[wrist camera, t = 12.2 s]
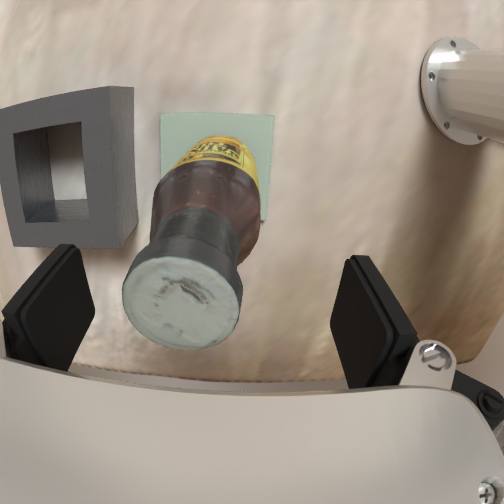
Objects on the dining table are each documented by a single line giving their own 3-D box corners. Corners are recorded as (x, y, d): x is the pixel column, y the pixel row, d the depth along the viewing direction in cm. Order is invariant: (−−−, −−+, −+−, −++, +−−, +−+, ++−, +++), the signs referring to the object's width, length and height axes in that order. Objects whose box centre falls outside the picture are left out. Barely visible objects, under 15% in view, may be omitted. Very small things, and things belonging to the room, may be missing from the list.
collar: (133, 87, 23) (110, 86, 18) (138, 221, 30) (120, 249, 25) (28, 104, 22) (-7, 111, 17) (41, 222, 29) (13, 246, 23)
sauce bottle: (241, 122, 25) (258, 175, 8) (264, 186, 28) (314, 342, 11) (172, 149, 26) (61, 256, 8) (198, 209, 29) (154, 383, 11)
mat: (273, 115, 26) (274, 116, 25) (265, 217, 31) (266, 220, 30) (162, 113, 25) (160, 114, 24) (164, 215, 30) (162, 218, 29)
